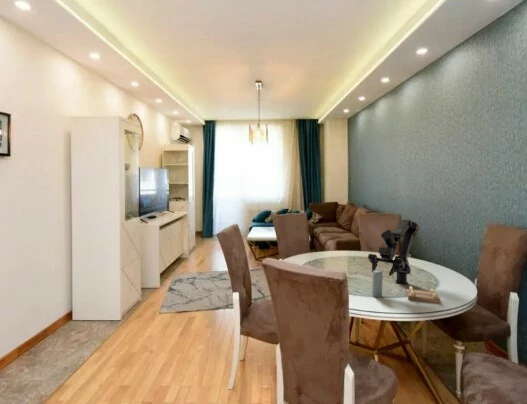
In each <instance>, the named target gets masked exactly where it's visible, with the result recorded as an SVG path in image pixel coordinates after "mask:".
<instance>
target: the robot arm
mask: <svg viewBox="0 0 527 404" xmlns="http://www.w3.org/2000/svg"><path fill="white" fill-rule="evenodd" d="M418 232H420V225H419V224H418V223H417V222H414V221H413V220H411V219H402V221H401V223H400V224H399V225H398V226H397V227H396V228H395V229H392V230H391V229H386V230H385V231H383V232H382V233H381V235H380V237H381V240H382V241H383V243H384V245H385V247H382V246H379V248H378V251H377V252H378V254H379V256H377V254H376V253H375V254H374V253H368V255H367V259H368V261H369V262H370V263H371V272H372V273H373V271H374V270H376V269H377V267H378V263H379V262H382V263H387V264H391V269H390V271H389V273H388V274H389V275H388V276H389V277H391V276H392V275H394V274H395V273H396V279H395V280H394V281H395V283H396V284H402V285H408V284H409V283H408V277H407V276H408V275H411V270H412V269H411V267H410V263H409V260H408V258H409V253H410V250H411V247H412V243H413V239H414V237H416V236H417V235H418ZM401 242H402V244H401V248H400V251H399V254H398V255H396V251H397V250H399V247H398V246H399V245H398V243H401Z"/></svg>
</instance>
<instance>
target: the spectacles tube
mask: <svg viewBox="0 0 527 404" xmlns="http://www.w3.org/2000/svg"><path fill="white" fill-rule="evenodd" d="M383 274H384V272H383V271H382V270H379V269H378V270H376V269H375V270H374V271H373V272H372V289H371V290H372V294H371V295H372V297H373V298H378V299H379V298H382V297H383V278H384V277H383V276H384V275H383Z"/></svg>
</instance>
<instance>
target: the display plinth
mask: <svg viewBox="0 0 527 404" xmlns="http://www.w3.org/2000/svg"><path fill="white" fill-rule="evenodd" d="M405 290H406V296H407V299H408V301H414V302H423V303H432V304H433V303H434V304H440V298H439V296H438V294H437V292H436V291H435V290H434V288H433V287H429V290H423V289H413V286H412V285H409V287H408V288H406V289H405Z"/></svg>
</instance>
